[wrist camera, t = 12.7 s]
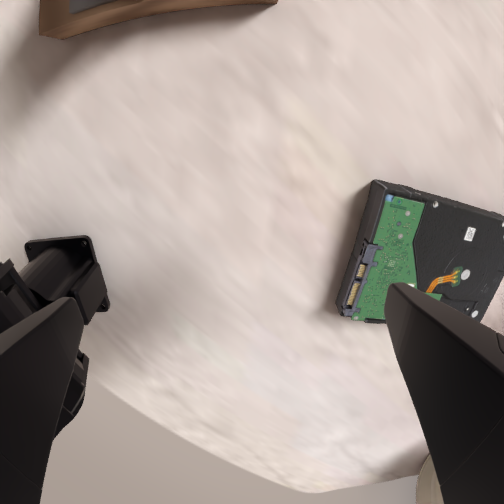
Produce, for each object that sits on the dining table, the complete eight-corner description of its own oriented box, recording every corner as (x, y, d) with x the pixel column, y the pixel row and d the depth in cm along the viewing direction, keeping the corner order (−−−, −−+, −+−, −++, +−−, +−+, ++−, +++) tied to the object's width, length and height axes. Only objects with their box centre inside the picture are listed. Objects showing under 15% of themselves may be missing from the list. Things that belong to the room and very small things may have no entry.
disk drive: (505, 212, 22) (368, 175, 21) (524, 225, 19) (384, 187, 18) (465, 310, 27) (332, 303, 25) (479, 327, 24) (341, 326, 23)
